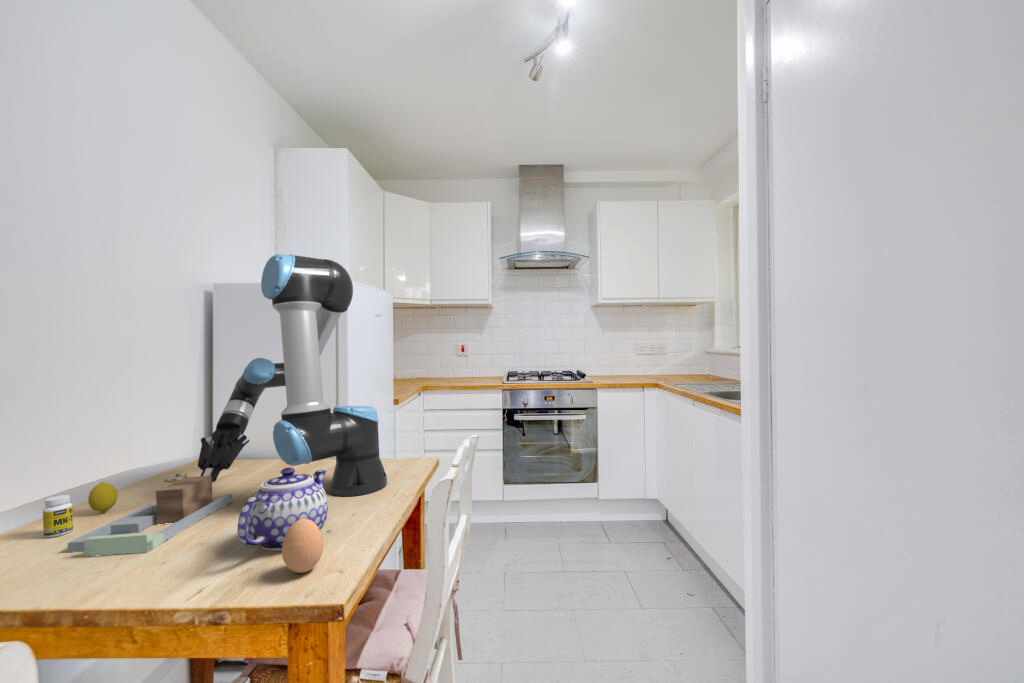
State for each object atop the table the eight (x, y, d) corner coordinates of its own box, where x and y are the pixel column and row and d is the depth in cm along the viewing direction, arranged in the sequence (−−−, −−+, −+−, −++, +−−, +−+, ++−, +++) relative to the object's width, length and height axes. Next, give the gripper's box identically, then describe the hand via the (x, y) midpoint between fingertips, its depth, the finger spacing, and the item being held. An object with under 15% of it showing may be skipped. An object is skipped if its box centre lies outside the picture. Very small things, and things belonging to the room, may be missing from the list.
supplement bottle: (53, 538, 98) (52, 501, 98) (37, 538, 99) (36, 500, 99) (78, 529, 103) (77, 494, 103) (63, 529, 104) (61, 493, 104)
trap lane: (163, 505, 117) (162, 492, 117) (232, 500, 118) (232, 487, 118) (53, 559, 87) (52, 541, 87) (147, 552, 88) (146, 535, 88)
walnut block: (189, 507, 114) (187, 477, 114) (212, 506, 115) (211, 475, 115) (157, 524, 103) (155, 491, 103) (183, 523, 104) (182, 489, 104)
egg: (309, 582, 74) (306, 527, 74) (274, 580, 75) (271, 527, 75) (332, 562, 80) (329, 512, 80) (299, 561, 81) (297, 512, 81)
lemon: (114, 507, 117) (113, 477, 117) (120, 511, 114) (119, 480, 114) (86, 514, 113) (85, 483, 113) (91, 518, 110) (90, 486, 110)
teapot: (274, 574, 77) (270, 489, 77) (204, 568, 80) (201, 486, 81) (357, 517, 101) (354, 453, 101) (301, 514, 105) (298, 452, 105)
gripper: (262, 424, 135) (233, 497, 119) (218, 427, 135) (183, 500, 118) (251, 410, 130) (220, 484, 113) (206, 412, 129) (168, 488, 113)
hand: (201, 492), depth 116 cm, fingers closed
